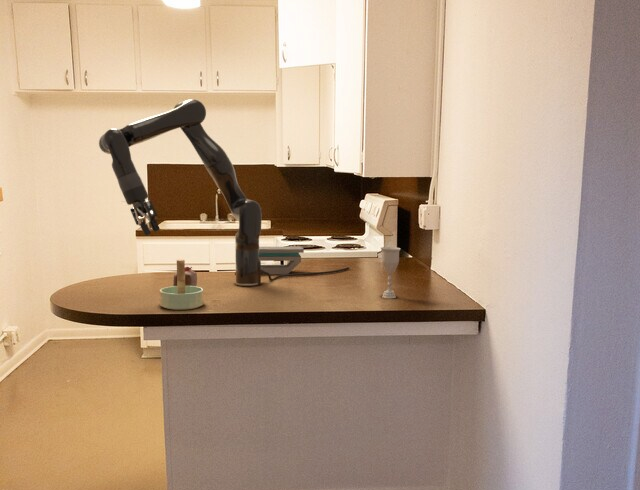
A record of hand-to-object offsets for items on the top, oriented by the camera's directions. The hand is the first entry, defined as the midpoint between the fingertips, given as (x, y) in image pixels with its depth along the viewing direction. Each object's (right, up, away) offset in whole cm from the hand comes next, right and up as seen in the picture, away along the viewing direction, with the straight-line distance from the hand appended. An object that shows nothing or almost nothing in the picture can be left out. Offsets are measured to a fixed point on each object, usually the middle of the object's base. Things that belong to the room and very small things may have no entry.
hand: (152, 232), depth 225 cm
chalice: (+82, -22, +17) cm, 87 cm away
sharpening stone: (+37, -12, +63) cm, 74 cm away
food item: (+8, -21, +18) cm, 29 cm away
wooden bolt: (+11, -24, -2) cm, 26 cm away
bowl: (+11, -25, -2) cm, 27 cm away
